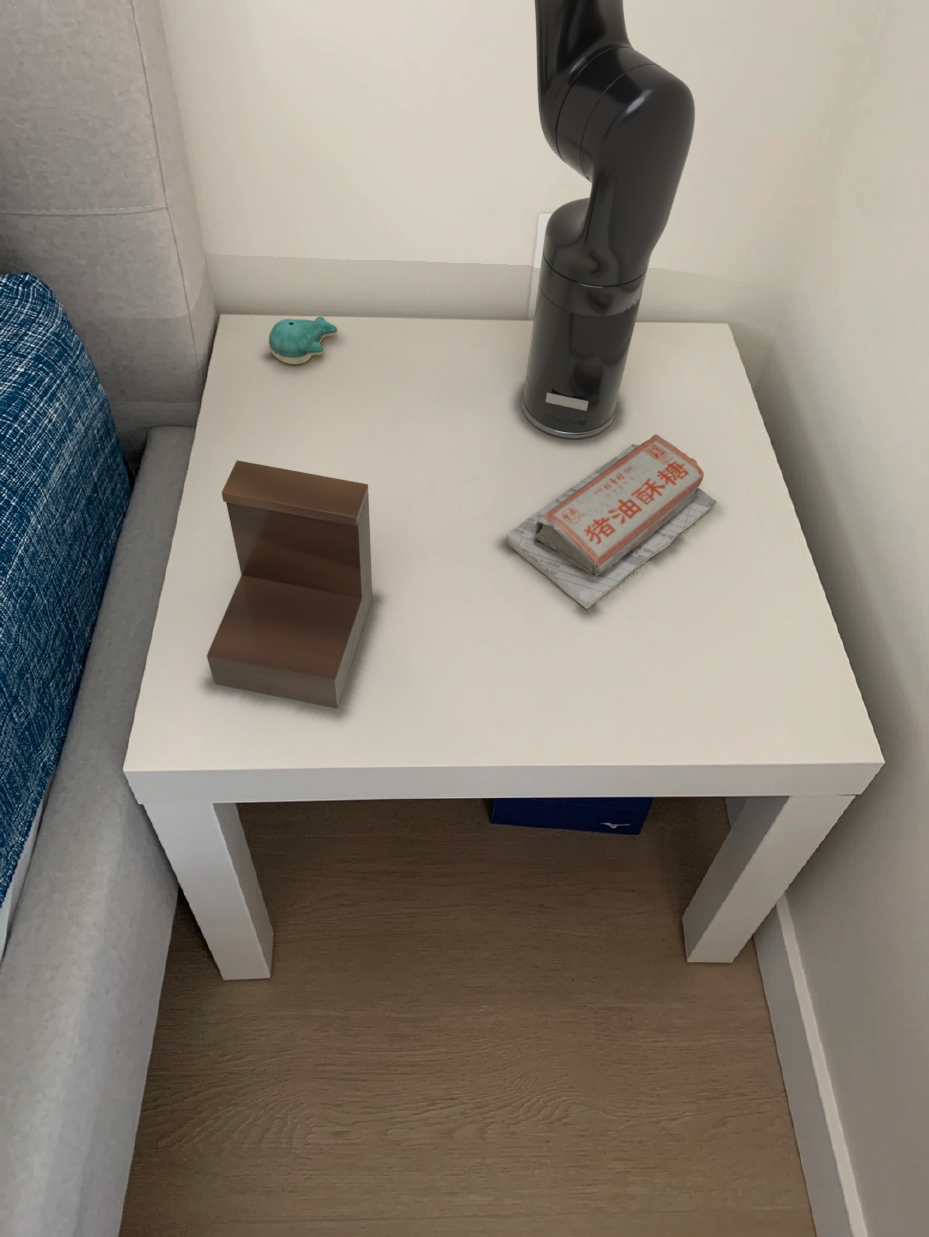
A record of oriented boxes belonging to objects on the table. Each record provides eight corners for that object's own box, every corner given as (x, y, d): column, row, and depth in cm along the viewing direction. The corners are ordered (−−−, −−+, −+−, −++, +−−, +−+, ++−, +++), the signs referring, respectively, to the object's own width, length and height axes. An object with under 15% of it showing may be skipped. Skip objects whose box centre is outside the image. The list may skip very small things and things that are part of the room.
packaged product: (643, 414, 91) (728, 473, 87) (633, 452, 95) (714, 509, 91) (508, 509, 83) (595, 578, 79) (503, 546, 87) (586, 613, 83)
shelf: (258, 577, 83) (236, 459, 72) (372, 599, 83) (368, 483, 71) (214, 683, 77) (182, 572, 66) (337, 708, 76) (326, 600, 65)
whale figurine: (258, 349, 101) (253, 318, 98) (313, 320, 104) (311, 289, 101) (294, 377, 98) (290, 347, 95) (349, 347, 102) (347, 316, 99)
